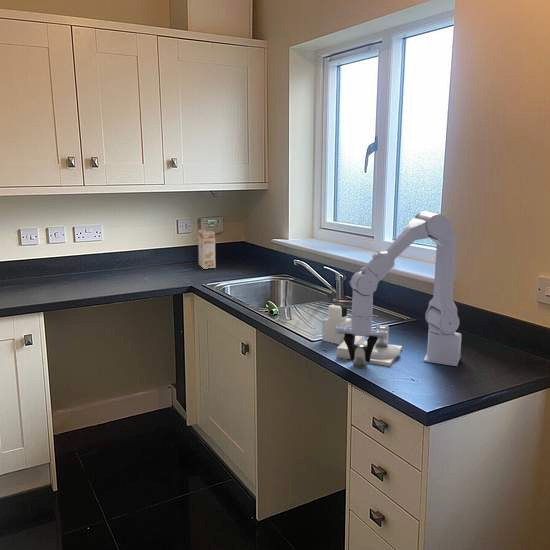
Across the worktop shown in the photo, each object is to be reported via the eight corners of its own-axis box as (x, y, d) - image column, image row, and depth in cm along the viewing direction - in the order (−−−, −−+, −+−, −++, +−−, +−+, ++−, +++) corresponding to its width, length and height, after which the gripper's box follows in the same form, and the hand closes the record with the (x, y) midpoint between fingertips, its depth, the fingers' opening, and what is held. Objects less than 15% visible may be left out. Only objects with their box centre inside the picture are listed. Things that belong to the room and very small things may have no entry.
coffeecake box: (216, 269, 294) (215, 232, 290) (202, 270, 292) (201, 233, 288) (211, 264, 308) (210, 229, 304) (198, 264, 306) (197, 229, 302)
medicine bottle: (333, 335, 188) (334, 300, 185) (352, 339, 183) (353, 304, 181) (321, 340, 182) (322, 305, 180) (340, 345, 178) (341, 309, 175)
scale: (405, 349, 174) (405, 338, 174) (393, 366, 160) (394, 355, 159) (352, 341, 181) (352, 331, 181) (336, 357, 167) (337, 346, 166)
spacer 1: (368, 364, 162) (369, 344, 161) (364, 369, 158) (365, 349, 157) (355, 361, 164) (356, 342, 162) (351, 366, 160) (351, 346, 159)
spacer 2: (390, 345, 173) (391, 327, 172) (383, 348, 170) (383, 329, 169) (380, 342, 176) (381, 324, 175) (372, 345, 173) (373, 326, 172)
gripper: (389, 313, 159) (387, 358, 162) (339, 308, 164) (338, 352, 167) (386, 319, 153) (384, 366, 156) (334, 315, 157) (333, 360, 160)
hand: (360, 360), depth 161 cm, fingers closed on spacer 1, 4 cm apart
